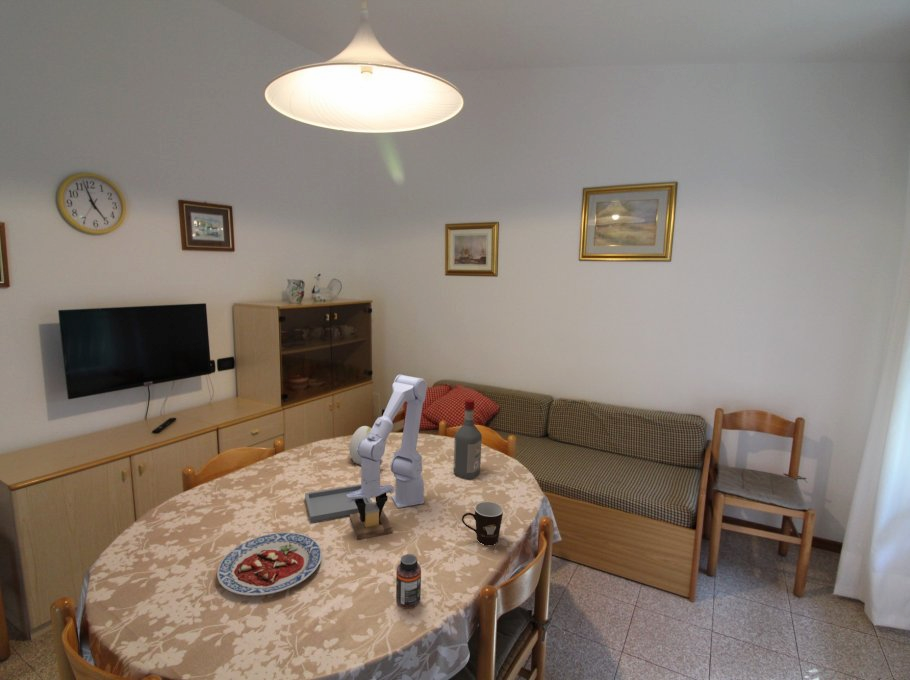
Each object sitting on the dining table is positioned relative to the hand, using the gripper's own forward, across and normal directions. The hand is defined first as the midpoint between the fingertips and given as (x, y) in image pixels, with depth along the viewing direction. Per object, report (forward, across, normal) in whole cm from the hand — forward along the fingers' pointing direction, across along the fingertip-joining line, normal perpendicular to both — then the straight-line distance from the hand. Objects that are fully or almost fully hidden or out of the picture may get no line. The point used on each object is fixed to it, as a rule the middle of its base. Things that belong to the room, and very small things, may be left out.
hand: (370, 518), depth 143 cm
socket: (+3, 0, 0) cm, 3 cm away
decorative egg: (+3, -14, -47) cm, 49 cm away
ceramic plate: (+3, +30, +7) cm, 31 cm away
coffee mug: (+3, -28, +21) cm, 35 cm away
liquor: (+3, -46, -18) cm, 50 cm away
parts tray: (+3, +5, -17) cm, 18 cm away
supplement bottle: (+3, +3, +35) cm, 35 cm away
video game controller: (+3, -13, -34) cm, 37 cm away
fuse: (+3, 0, 0) cm, 3 cm away
